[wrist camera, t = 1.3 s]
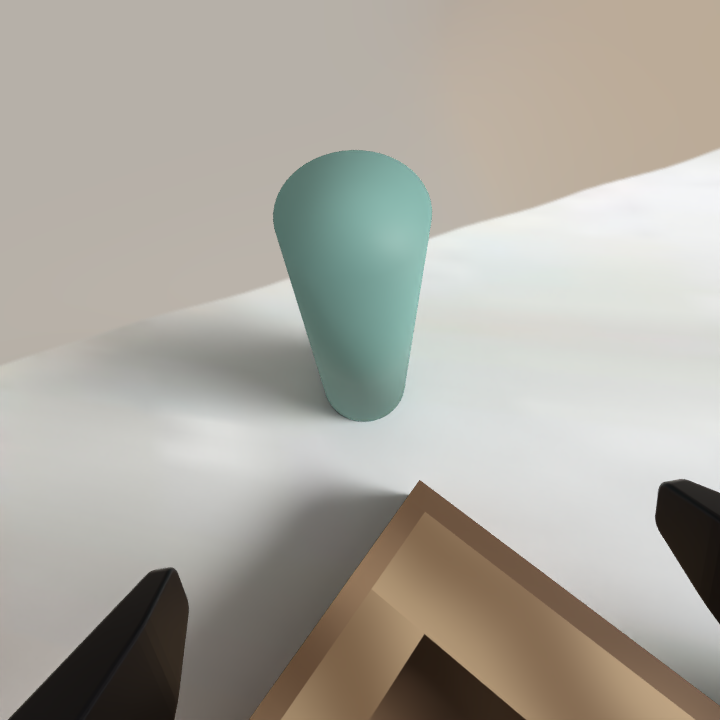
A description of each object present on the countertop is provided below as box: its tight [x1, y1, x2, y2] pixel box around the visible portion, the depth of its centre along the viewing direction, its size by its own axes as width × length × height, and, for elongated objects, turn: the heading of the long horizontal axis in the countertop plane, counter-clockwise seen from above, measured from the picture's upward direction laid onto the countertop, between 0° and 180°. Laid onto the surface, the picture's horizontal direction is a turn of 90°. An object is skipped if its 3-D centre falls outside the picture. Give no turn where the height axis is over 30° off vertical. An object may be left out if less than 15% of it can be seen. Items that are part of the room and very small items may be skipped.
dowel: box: [273, 150, 432, 422], centre depth 18 cm, size 4×4×13 cm
